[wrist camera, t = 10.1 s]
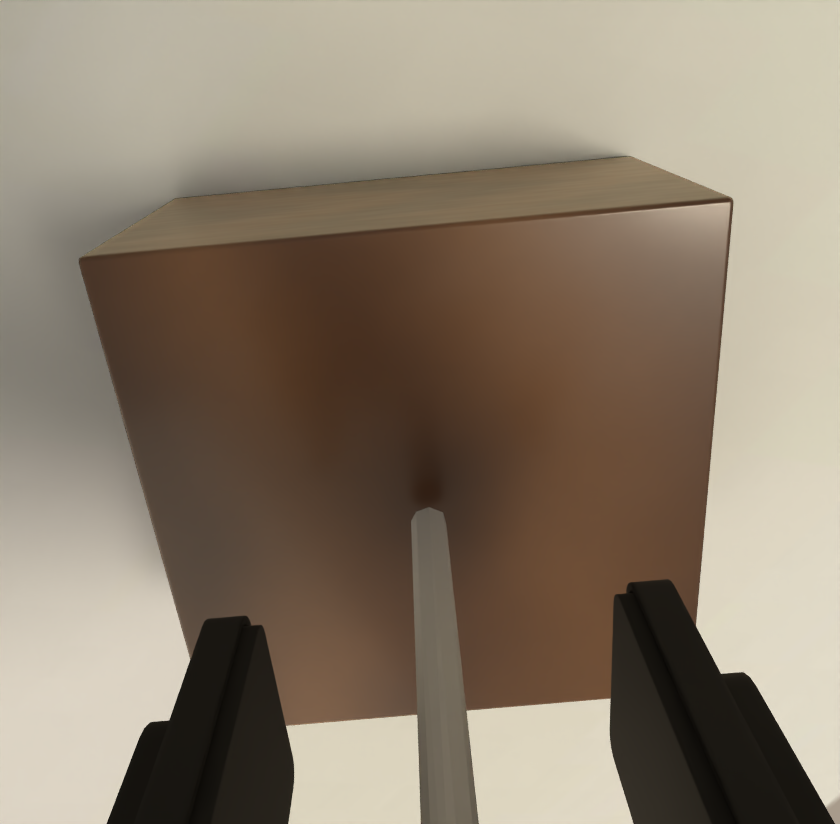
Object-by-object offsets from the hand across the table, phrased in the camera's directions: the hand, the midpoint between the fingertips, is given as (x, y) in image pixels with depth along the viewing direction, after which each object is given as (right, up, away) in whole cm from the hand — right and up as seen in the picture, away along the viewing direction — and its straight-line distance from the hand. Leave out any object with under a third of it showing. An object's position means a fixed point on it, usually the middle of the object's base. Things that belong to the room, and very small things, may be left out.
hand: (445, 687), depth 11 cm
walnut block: (0, +4, +10) cm, 11 cm away
